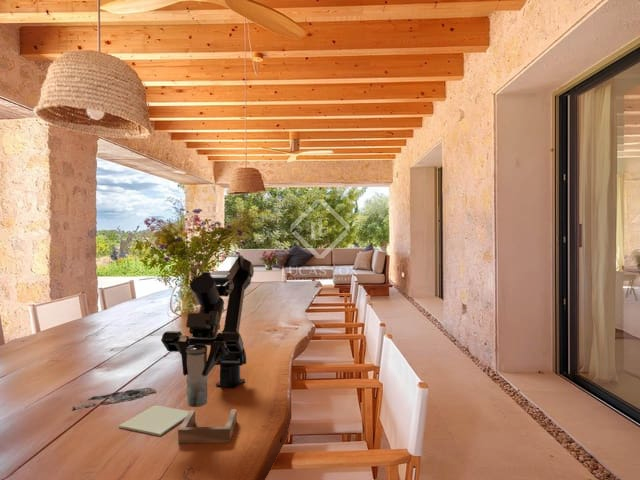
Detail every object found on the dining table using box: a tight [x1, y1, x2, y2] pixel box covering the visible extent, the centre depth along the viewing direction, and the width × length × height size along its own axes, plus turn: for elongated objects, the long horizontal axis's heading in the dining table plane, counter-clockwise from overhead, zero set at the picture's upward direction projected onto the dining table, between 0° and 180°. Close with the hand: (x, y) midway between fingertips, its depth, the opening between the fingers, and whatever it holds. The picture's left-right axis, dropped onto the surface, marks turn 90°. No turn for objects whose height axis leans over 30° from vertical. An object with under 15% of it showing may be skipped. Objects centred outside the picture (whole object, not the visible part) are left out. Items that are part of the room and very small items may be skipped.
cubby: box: [177, 408, 238, 444], centre depth 99 cm, size 10×11×3 cm
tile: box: [118, 404, 190, 437], centre depth 105 cm, size 12×12×1 cm
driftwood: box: [71, 387, 158, 410], centre depth 118 cm, size 21×7×2 cm, turn 115°
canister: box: [186, 345, 208, 408], centre depth 100 cm, size 5×5×13 cm
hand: (194, 375), depth 98 cm, fingers closed on canister, 4 cm apart
